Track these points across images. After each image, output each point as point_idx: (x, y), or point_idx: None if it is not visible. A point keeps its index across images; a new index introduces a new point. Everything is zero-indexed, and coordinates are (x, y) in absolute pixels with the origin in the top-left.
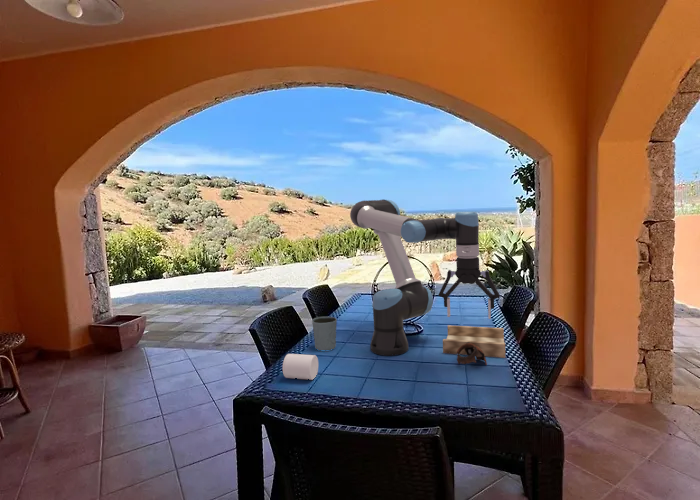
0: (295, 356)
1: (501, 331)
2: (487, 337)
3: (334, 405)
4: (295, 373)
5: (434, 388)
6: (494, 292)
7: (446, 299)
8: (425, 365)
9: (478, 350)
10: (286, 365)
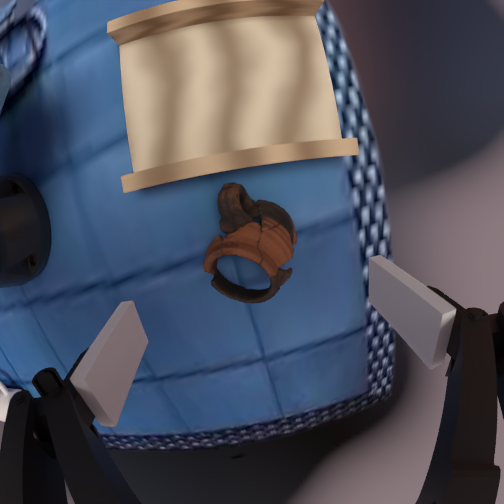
0: (3, 420)
1: (314, 3)
2: (260, 16)
3: (109, 448)
4: None
5: (205, 393)
6: (499, 383)
7: (91, 409)
8: None
9: (281, 263)
10: None
